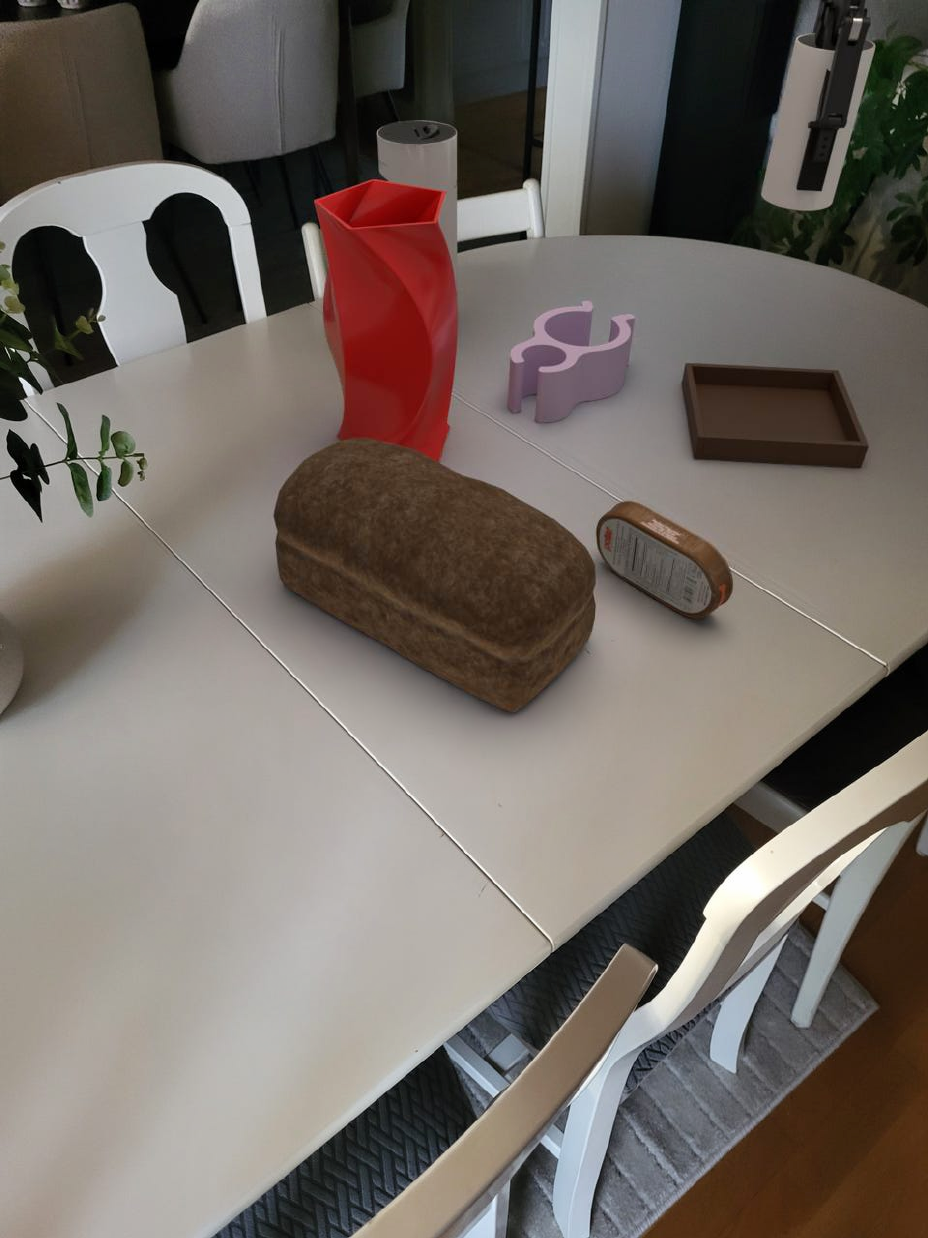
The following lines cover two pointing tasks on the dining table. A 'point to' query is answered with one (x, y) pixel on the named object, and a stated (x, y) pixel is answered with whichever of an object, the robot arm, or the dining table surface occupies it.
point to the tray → (771, 415)
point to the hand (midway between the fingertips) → (802, 175)
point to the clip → (568, 362)
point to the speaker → (424, 167)
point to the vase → (390, 312)
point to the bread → (436, 567)
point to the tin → (664, 559)
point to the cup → (794, 127)
